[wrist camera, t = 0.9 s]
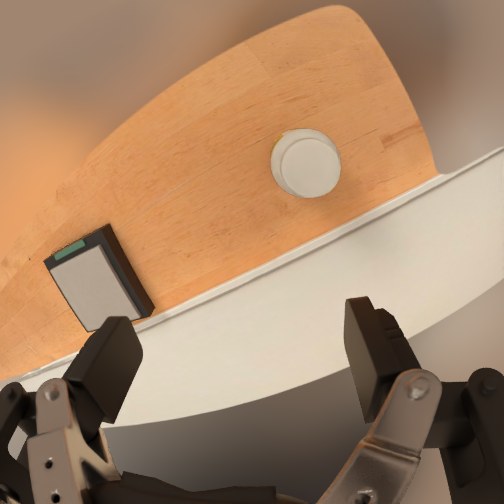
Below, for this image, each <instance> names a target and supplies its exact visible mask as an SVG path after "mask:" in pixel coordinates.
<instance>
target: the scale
mask: <svg viewBox="0 0 504 504" xmlns="http://www.w3.org/2000/svg"><path fill="white" fill-rule="evenodd" d="M43 262H44V263H45V265H46V267H47V269H48V271H49V273H50V274H51V276H52V278H53V280H54V281H55V283H56V285H57V286H58V288H59V290H60V292H61V293H62V295H63V296H64V298H65V300H66V301H67V303H68V304H69V306H70V308H71V309H72V311H73V312H74V314H75V315H76V317H77V318H78V320H79V321H80V323H81V324H82V326H83V327H84V328H85V330H86V331H87V333H88V332H92V331H96V330H98V329H99V328H100V327H101V326H102V324H103V323H104V321H105V320H106V319H107V317H109V316H127V317H128V318H129V319H130V321H131V322H132V321H135V320H139V319H143V318H147V317H150V316H151V314H152V312H153V310H154V309H155V307H154V305H153V303H152V302H151V300H150V298H149V297H148V295H147V293H146V292H145V290H144V288H143V286H142V285H141V283H140V281H139V279H138V278H137V276H136V274H135V272H134V271H133V269H132V267H131V265H130V263H129V261H128V260H127V258H126V256H125V254H124V252H123V250H122V248H121V246H120V244H119V242H118V240H117V239H116V237H115V235H114V233H113V231H112V229H111V227H110V224H107V225H105V226H103V227H101V228H99V229H97V230H95V231H93V232H92V233H90V234H88V235H86V236H84V237H82V238H80V239H79V240H77V241H75V242H73V243H71V244H70V245H68V246H66V247H64V248H62V249H61V250H59V251H57V252H55V253H54V254H52V255H51V256H49V257H48V258H47V259H45V260H44V261H43Z"/></svg>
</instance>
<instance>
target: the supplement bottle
mask: <svg viewBox="0 0 504 504" xmlns="http://www.w3.org/2000/svg"><path fill="white" fill-rule="evenodd" d="M270 163H271V171H272V174H273V177H274V179H275V181H276V182H277V183H278V185H279V186H280V187H281V188H282V189H283V190H284V191H286V192H287V193H289V194H291V195H293V196H296V197H300V198H316V197H321V196H323V195H325V194H327V193H328V192H330V191H331V190H332V189H333V188H334V187H335V185H336V184H337V182H338V180H339V177H340V172H341V159H340V154H339V152H338V149H337V147H336V145H335V144H334V143H333V141H332V140H331V139H330V138H329V137H328V136H326V135H325V134H323V133H321V132H319V131H317V130H313V129H306V128H302V129H291V130H288V131H286V132H284V133H282V134H281V135H280V136H279V137H278V138H277V139H276V140H275V142H274V143H273V146H272V148H271V154H270Z"/></svg>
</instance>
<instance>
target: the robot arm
mask: <svg viewBox="0 0 504 504" xmlns="http://www.w3.org/2000/svg"><path fill="white" fill-rule="evenodd" d="M344 345H345V350H346V354H347V357H348V361H349V364H350V368H351V371H352V375H353V378H354V382H355V385H356V389H357V393H358V397H359V401H360V404H361V408H362V412H363V416H364V420H365V423H371V422H374V423H373V425H372V427H371V429H370V430H369V432H368V434H367V435H366V437H365V438H364V439H362V440H361V441H360V443H359V444H358V445H357V447H356V448H355V450H354V452H353V453H352V455H351V456H350V458H349V459H348V461H347V462H346V464H345V465H344V467H343V468H342V470H341V471H340V473H339V474H338V475H337V477H336V478H335V480H334V481H333V482H332V484H331V485H330V486H329V488H328V489H327V491H326V492H325V493H324V494H323V496H322V497H321V498H320V499H319V501H318V502H317V503H316V504H400V502H401V500H402V498H403V496H404V495H405V493H406V491H407V489H408V487H409V485H410V483H411V481H412V479H413V477H414V475H415V472H416V470H417V468H418V465H419V462H420V459H421V458H420V453H421V450H422V448H439V450H440V454H441V457H442V461H443V465H444V469H445V473H446V477H447V481H448V486H449V491H450V495H451V500H452V504H504V376H503V375H502V374H501V373H500V372H498V371H497V370H495V369H492V368H481V369H478V370H476V371H475V372H473V373H472V375H471V376H470V378H469V380H468V382H441V381H440V380H439V379H438V377H437V376H436V375H435V374H433V373H432V372H430V371H427V370H424V369H422V368H421V366H420V364H419V362H418V360H417V358H416V356H415V355H414V353H413V351H412V349H411V347H410V345H409V343H408V341H407V339H406V338H405V337H404V334H403V332H402V330H401V328H399V325H398V323H397V321H396V320H395V318H394V316H393V315H391V314H390V313H389V312H387V311H386V310H385V309H383V308H381V309H374V307H373V305H372V303H371V301H370V299H369V298H368V297H367V296H365V297H358V298H351V299H346V302H345V320H344ZM142 359H143V349H142V346H141V344H140V341H139V339H138V337H137V335H136V332H135V330H134V328H133V326H132V323H131V321H130V319H129V318H128V317H127V316H109V317H107V319H106V320H105V321H104V323H103V324H102V326H101V327H100V328H99V329H98V330H97V331H96V332H94V333H93V334H92V335H91V336H90V337H89V338H88V340H87V341H86V343H85V344H84V347H82V348H81V350H80V351H79V354H77V356H76V357H75V359H74V360H73V362H72V363H71V365H70V366H69V368H68V369H67V371H66V372H65V374H64V375H63V377H62V378H61V379H60V378H53V379H50V380H48V381H46V382H44V383H43V384H42V385H41V386H40V387H39V389H38V391H37V392H26V391H25V389H24V388H23V387H22V385H21V384H20V383H18V382H12V383H10V384H8V385H6V386H5V387H4V388H3V389H2V390H1V391H0V504H310V503H308V502H306V501H303V500H300V499H298V498H294V497H291V496H287V495H282V494H278V492H277V489H276V486H270V487H269V486H267V487H237V486H233V487H228V488H221V489H215V490H207V491H199V492H190V491H186V490H184V489H181V488H178V487H176V486H173V485H171V484H168V483H166V482H163V481H161V480H159V479H156V478H153V477H147V476H143V475H138V474H134V473H129V472H125V471H124V472H123V474H122V476H121V475H120V473H119V472H118V470H117V469H116V467H115V465H114V462H113V459H112V456H111V453H110V451H109V447H108V444H107V441H106V438H105V435H104V432H103V430H102V428H101V427H100V425H101V423H102V422H106V423H111V424H114V423H115V420H116V418H117V416H118V413H119V411H120V409H121V406H122V404H123V402H124V399H125V397H126V395H127V393H128V390H129V388H130V386H131V384H132V381H133V379H134V377H135V375H136V373H137V370H138V368H139V366H140V364H141V362H142ZM17 426H19V427H20V428H21V429H22V430H23V431H24V432H25V433H26V434H27V435H28V437H27V439H26V441H25V443H24V445H23V447H22V450H21V452H20V454H19V456H18V458H17V460H15V459H14V458H13V457H12V456H11V455H10V454H9V451H8V444H9V441H10V439H11V437H12V435H13V433H14V432H15V429H16V428H17Z"/></svg>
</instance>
